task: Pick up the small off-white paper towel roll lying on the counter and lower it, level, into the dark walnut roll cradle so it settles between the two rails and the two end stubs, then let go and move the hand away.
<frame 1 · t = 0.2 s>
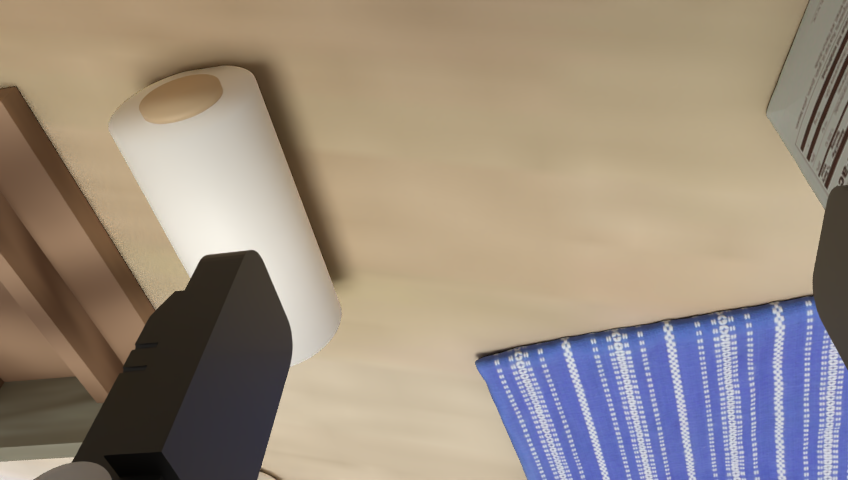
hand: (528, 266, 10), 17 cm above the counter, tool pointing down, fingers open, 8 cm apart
dish towel: (711, 401, 41), on the counter
roll: (255, 188, 32), on the counter
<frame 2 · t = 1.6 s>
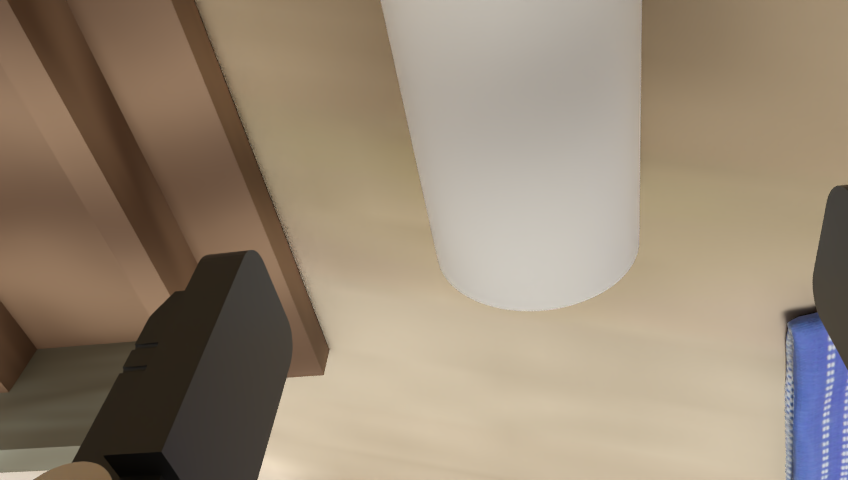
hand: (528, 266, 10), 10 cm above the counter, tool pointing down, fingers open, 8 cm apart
cradle: (36, 162, 22), on the counter
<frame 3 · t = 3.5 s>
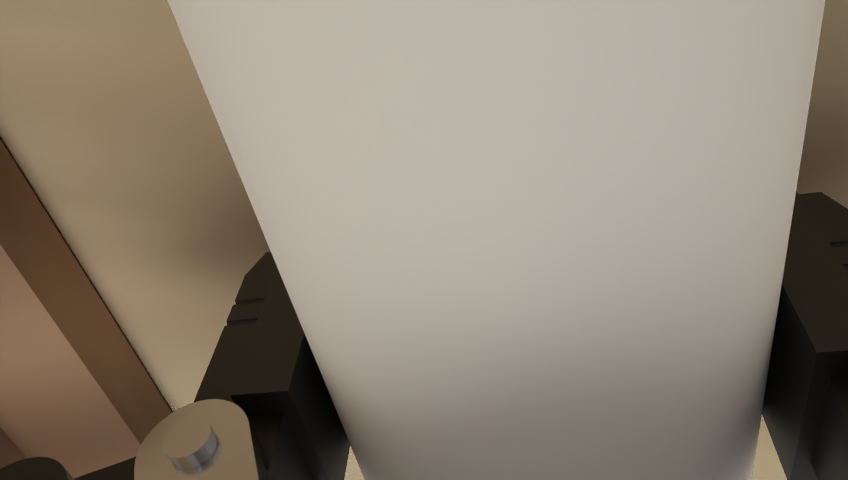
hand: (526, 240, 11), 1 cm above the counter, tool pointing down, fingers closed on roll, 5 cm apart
roll: (518, 210, 11), on the counter, touching gripper
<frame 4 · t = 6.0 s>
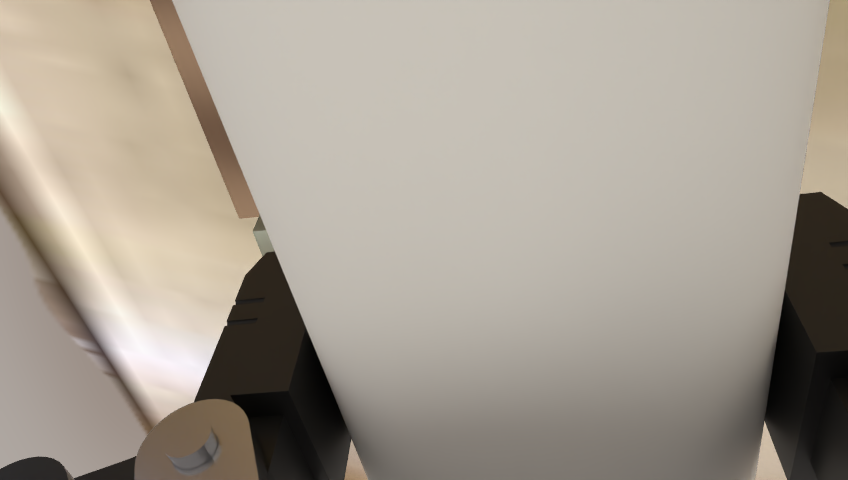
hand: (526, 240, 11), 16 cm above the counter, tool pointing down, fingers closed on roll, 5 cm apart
roll: (521, 213, 11), point 15 cm above the counter, touching gripper
when the fingers open (4 cm above the counter, at t = 8.6 s): roll drops 2 cm, resting on cradle.
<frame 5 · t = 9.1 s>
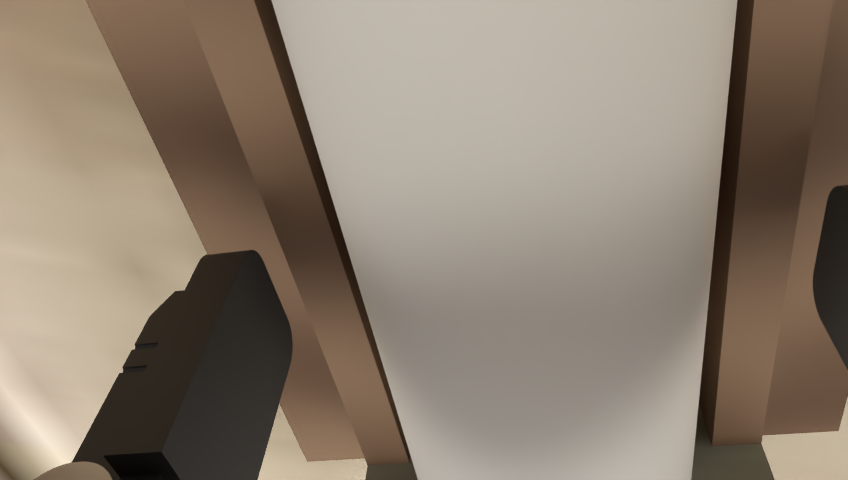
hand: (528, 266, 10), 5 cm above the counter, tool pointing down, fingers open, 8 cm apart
cradle: (516, 109, 14), on the counter
roll: (516, 141, 13), point 1 cm above the counter, touching cradle
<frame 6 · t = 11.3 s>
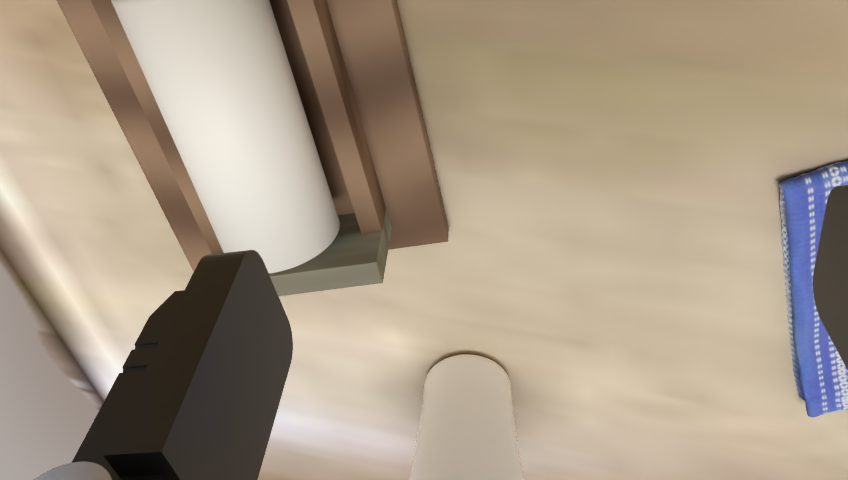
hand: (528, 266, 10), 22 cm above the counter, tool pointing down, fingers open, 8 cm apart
cradle: (263, 83, 33), on the counter
roll: (255, 95, 32), point 1 cm above the counter, touching cradle
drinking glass: (467, 377, 44), on the counter
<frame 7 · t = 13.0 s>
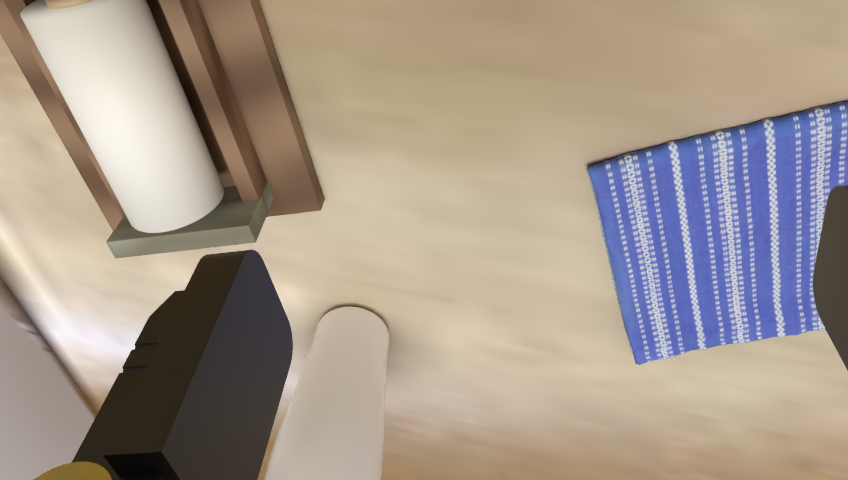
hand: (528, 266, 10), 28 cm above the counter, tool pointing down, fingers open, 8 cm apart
cradle: (160, 76, 40), on the counter
dish towel: (798, 221, 44), on the counter
roll: (152, 86, 39), point 1 cm above the counter, touching cradle
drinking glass: (354, 327, 52), on the counter
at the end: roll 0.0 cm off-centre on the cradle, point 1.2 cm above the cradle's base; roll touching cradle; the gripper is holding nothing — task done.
